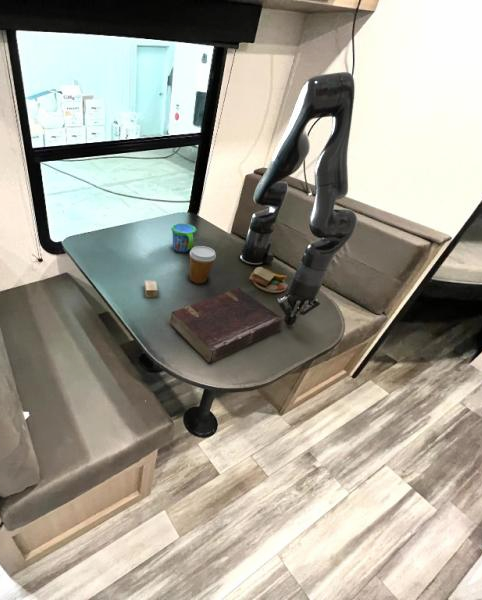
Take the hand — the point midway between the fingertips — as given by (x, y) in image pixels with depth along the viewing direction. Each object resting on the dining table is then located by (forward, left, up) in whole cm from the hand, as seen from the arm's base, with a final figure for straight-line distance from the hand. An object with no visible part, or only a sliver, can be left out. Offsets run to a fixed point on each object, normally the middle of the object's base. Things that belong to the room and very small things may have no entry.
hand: (288, 323), depth 100 cm
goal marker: (+42, -19, -1) cm, 46 cm away
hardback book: (+21, 0, -1) cm, 21 cm away
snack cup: (+25, -53, -1) cm, 58 cm away
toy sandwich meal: (-3, -24, -1) cm, 24 cm away
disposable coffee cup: (+23, -28, -1) cm, 36 cm away
